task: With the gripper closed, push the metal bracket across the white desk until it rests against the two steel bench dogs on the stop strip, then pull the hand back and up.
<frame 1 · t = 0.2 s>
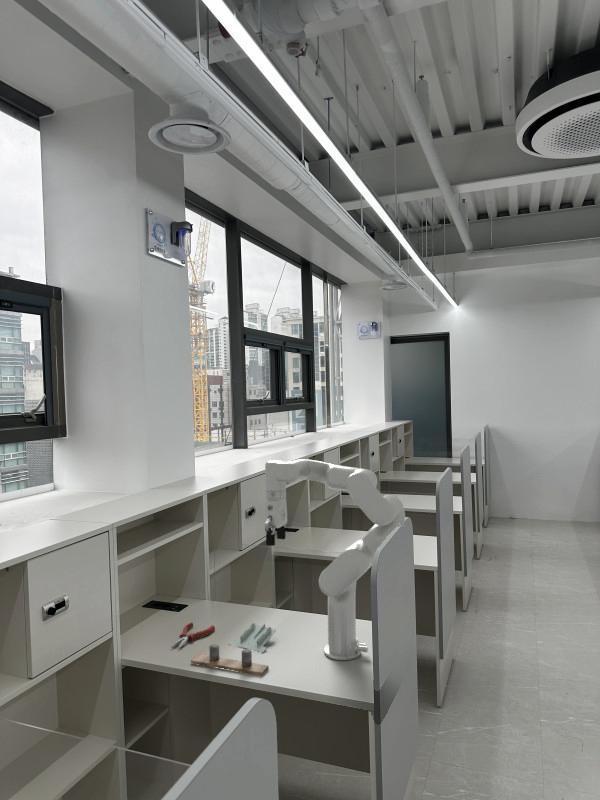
hand: (275, 542, 201), 36 cm above the table, tool pointing down, fingers open, 9 cm apart
metal bracket: (255, 644, 201), on the table
pliers: (187, 638, 207), on the table
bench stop: (229, 666, 183), on the table
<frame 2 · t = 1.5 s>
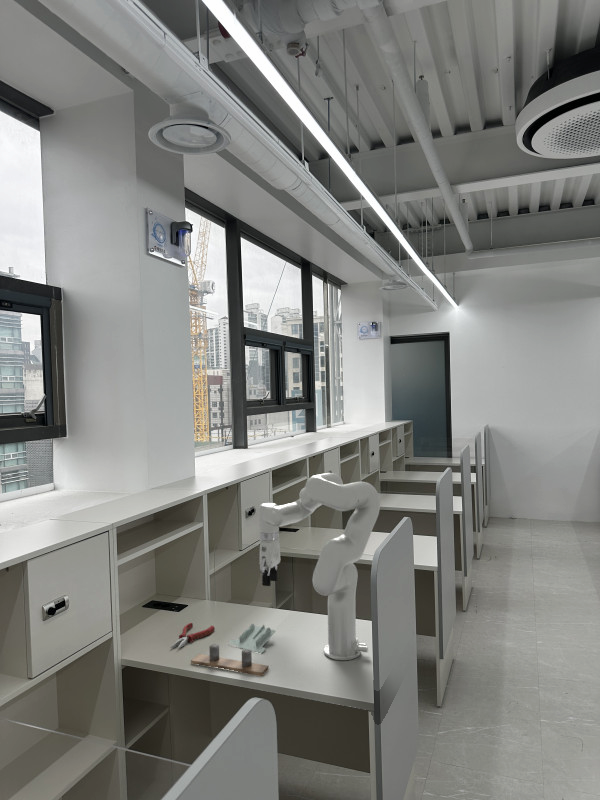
hand: (269, 582, 214), 17 cm above the table, tool pointing down, fingers open, 5 cm apart
nothing on the table moved.
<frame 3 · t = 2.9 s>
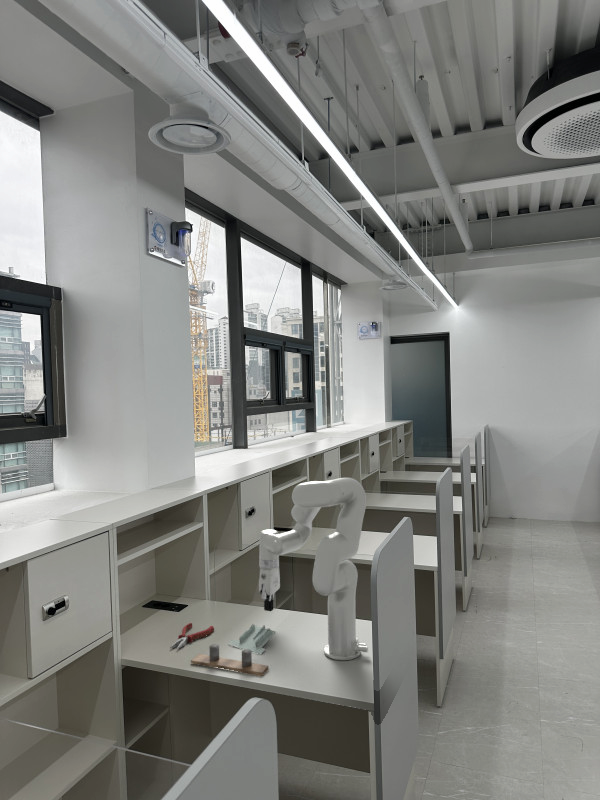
hand: (268, 610, 214), 7 cm above the table, tool pointing down, fingers closed
nothing on the table moved.
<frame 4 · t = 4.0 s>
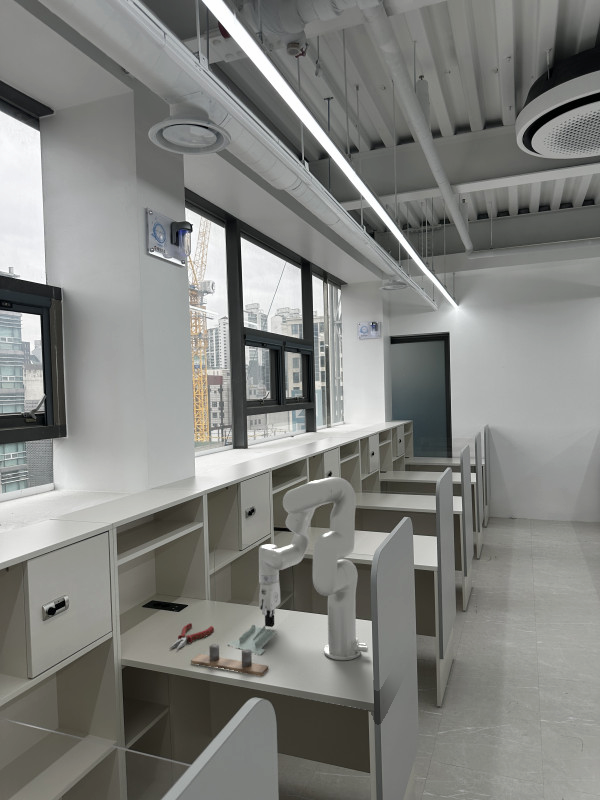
hand: (269, 625, 213), 1 cm above the table, tool pointing down, fingers closed
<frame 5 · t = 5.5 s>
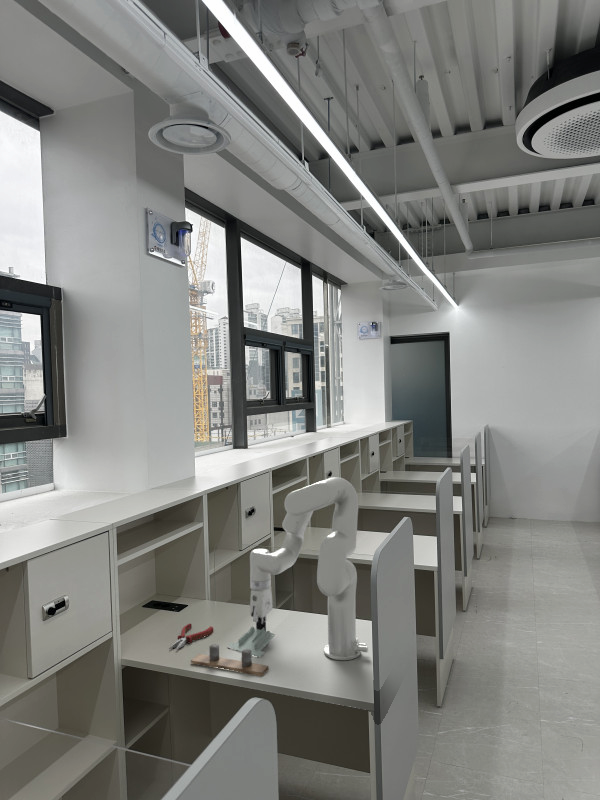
hand: (261, 632, 206), 1 cm above the table, tool pointing down, fingers closed
metal bracket: (253, 648, 198), on the table, touching gripper
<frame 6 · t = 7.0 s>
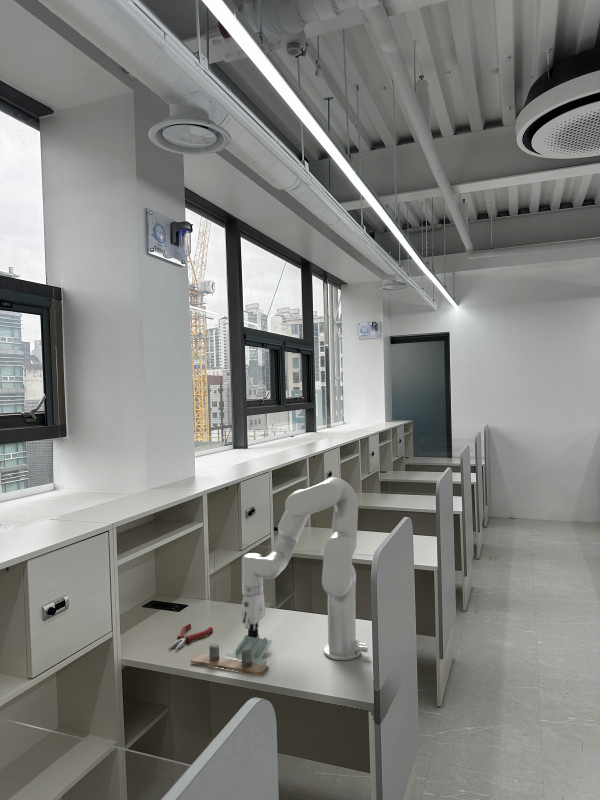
hand: (253, 639, 200), 1 cm above the table, tool pointing down, fingers closed
metal bracket: (251, 656, 192), on the table, touching gripper
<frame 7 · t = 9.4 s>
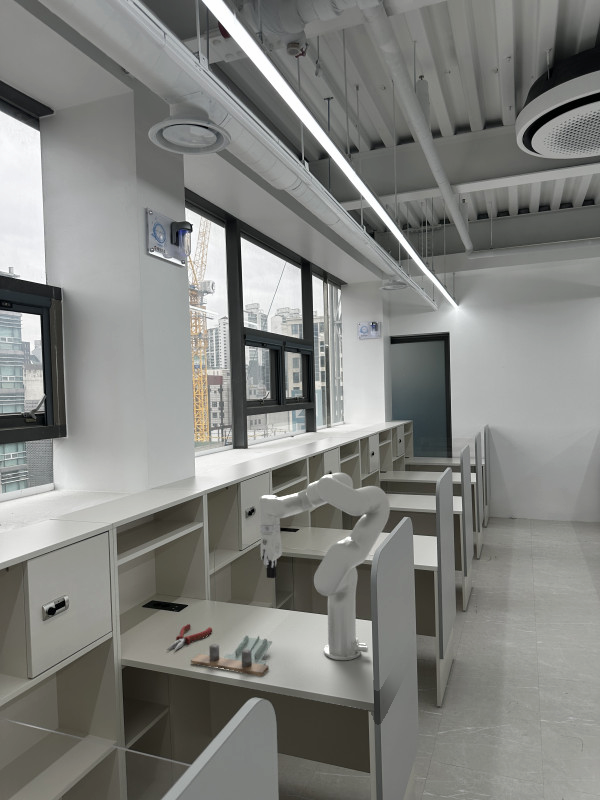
hand: (271, 577, 210), 21 cm above the table, tool pointing down, fingers closed
metal bracket: (251, 657, 191), on the table
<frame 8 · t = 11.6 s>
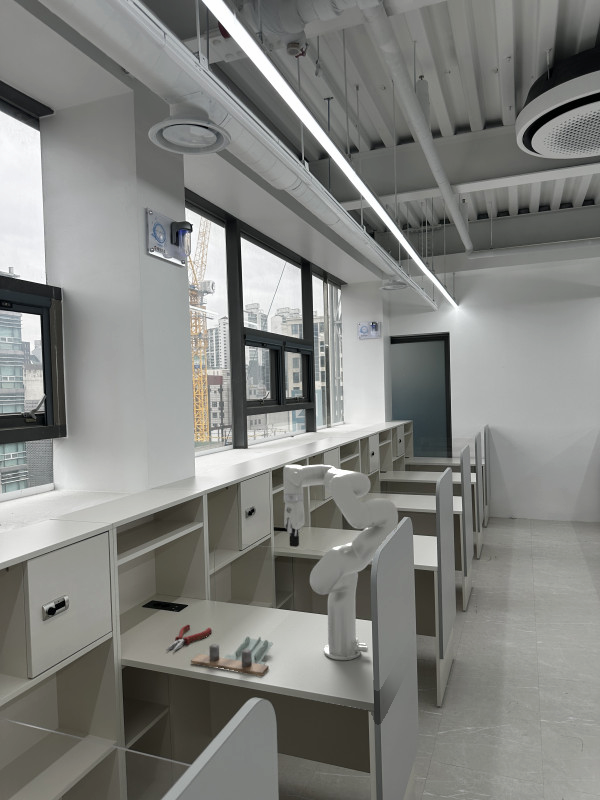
hand: (294, 545, 211), 32 cm above the table, tool pointing down, fingers closed
at the end: metal bracket inside the target area (3.8 cm from its centre), on the table; metal bracket moved 11.8 cm from its start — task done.
